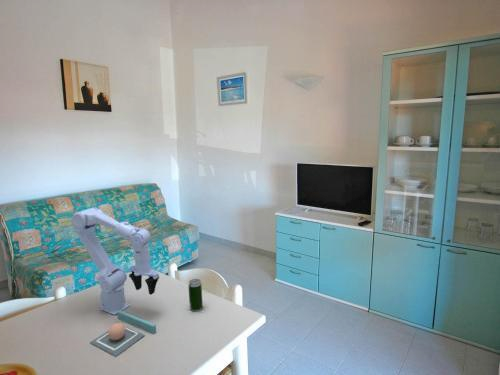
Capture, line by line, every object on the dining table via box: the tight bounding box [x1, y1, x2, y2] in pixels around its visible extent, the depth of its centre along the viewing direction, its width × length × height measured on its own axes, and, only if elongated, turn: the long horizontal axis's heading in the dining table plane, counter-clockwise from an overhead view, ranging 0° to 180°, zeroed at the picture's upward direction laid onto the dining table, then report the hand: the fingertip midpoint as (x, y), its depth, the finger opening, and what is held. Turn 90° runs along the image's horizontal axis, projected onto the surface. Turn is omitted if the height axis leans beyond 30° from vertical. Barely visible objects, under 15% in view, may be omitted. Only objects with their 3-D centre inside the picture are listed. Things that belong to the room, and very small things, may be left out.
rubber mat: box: [89, 326, 146, 358], centre depth 110 cm, size 14×12×1 cm
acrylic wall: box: [116, 310, 157, 335], centre depth 118 cm, size 20×1×3 cm, turn 60°
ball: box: [107, 322, 126, 340], centre depth 109 cm, size 6×6×6 cm
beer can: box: [188, 278, 203, 312], centre depth 127 cm, size 5×5×12 cm
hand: (145, 291), depth 124 cm, fingers open, 7 cm apart
